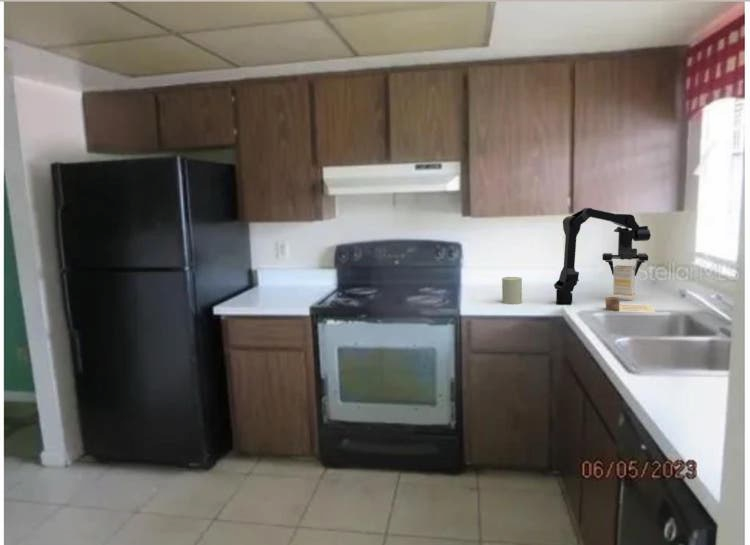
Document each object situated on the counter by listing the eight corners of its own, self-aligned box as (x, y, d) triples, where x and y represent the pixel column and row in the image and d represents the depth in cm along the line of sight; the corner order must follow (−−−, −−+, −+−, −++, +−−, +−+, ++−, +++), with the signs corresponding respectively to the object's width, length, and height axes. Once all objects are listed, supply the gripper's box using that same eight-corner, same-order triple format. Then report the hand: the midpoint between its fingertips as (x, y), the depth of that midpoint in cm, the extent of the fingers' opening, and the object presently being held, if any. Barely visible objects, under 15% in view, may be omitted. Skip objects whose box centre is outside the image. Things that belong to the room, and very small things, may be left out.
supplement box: (635, 294, 244) (635, 266, 241) (631, 296, 240) (632, 267, 238) (616, 292, 249) (616, 264, 247) (612, 294, 246) (613, 266, 244)
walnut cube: (606, 310, 226) (606, 299, 225) (605, 308, 231) (605, 297, 230) (619, 310, 224) (619, 299, 223) (618, 308, 229) (618, 296, 228)
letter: (618, 311, 223) (618, 311, 223) (615, 304, 238) (615, 303, 238) (655, 313, 218) (655, 312, 218) (650, 305, 233) (650, 304, 233)
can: (508, 299, 257) (508, 275, 256) (525, 301, 251) (525, 276, 249) (498, 302, 251) (498, 277, 249) (515, 305, 244) (515, 279, 243)
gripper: (603, 243, 237) (602, 277, 240) (650, 243, 231) (649, 278, 233) (602, 241, 248) (601, 274, 250) (647, 241, 241) (645, 274, 243)
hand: (624, 275), depth 244 cm, fingers closed on supplement box, 9 cm apart
